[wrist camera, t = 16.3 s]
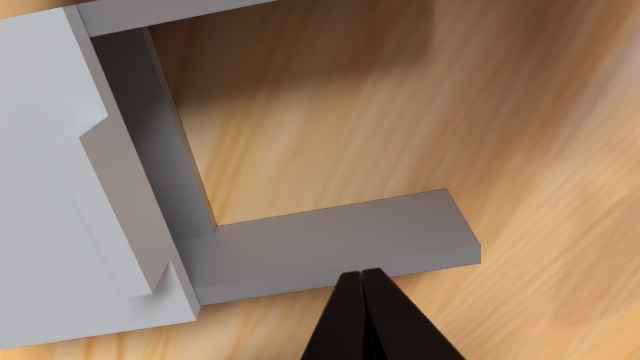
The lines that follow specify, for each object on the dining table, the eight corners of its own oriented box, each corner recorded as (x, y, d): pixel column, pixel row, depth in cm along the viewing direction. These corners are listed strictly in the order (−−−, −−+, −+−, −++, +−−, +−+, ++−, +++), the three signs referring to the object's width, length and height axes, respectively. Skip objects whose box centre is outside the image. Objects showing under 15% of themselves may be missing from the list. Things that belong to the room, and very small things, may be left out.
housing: (447, 204, 23) (480, 263, 18) (33, 271, 24) (-29, 340, 20) (434, -67, 17) (478, -78, 12) (-108, 44, 18) (-242, 69, 14)
